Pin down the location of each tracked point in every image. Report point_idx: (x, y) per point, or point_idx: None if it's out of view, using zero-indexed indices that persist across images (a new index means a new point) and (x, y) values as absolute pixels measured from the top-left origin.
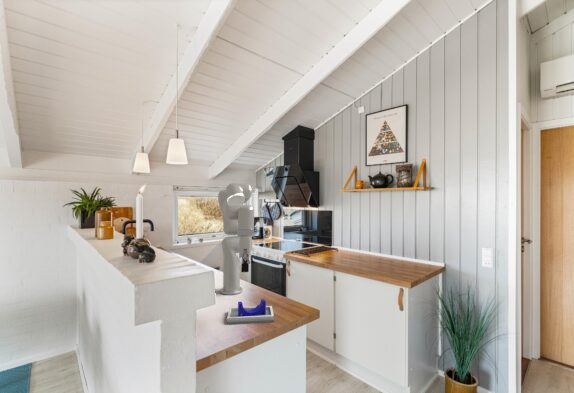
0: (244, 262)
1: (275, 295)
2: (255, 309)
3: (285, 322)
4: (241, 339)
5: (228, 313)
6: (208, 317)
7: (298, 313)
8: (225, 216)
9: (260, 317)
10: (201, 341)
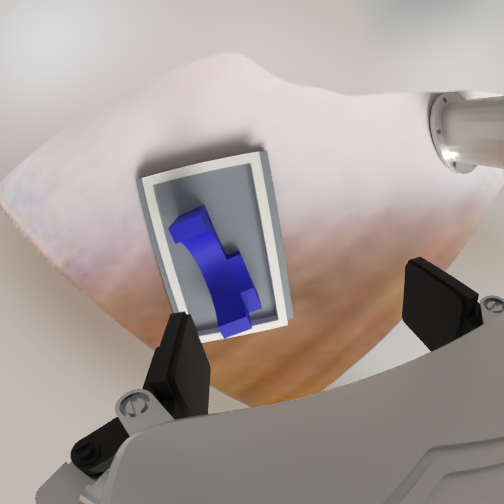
0: (119, 430)
1: None
2: (228, 278)
3: None
4: (60, 260)
5: (189, 167)
6: (198, 85)
7: (261, 387)
8: None
9: (176, 302)
10: (36, 150)
